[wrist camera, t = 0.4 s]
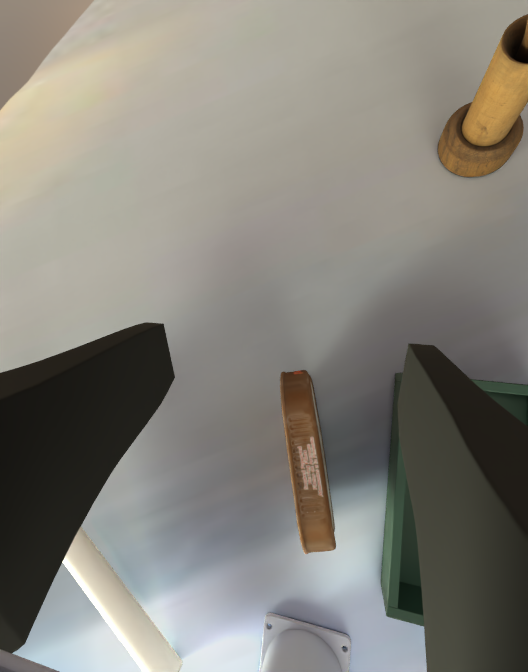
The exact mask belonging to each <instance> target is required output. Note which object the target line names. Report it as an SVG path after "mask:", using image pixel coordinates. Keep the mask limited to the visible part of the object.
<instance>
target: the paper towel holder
mask: <svg viewBox="0 0 528 672" xmlns="http://www.w3.org/2000/svg"><path fill="white" fill-rule="evenodd" d="M63 563H64V564H65V566H66V567H67V569H68V570H69V571H70V573H71V574H72V575H73V577H74V578H75V579H76V581H77V582H78V584H79V585H80V586H81V588H82V589H83V590H84V592H85V593H86V594H87V596H88V597H89V599H90V600H91V601H92V603H93V604H94V605H95V607H96V608H97V609H98V611H99V612H100V614H101V615H102V616H103V618H104V619H105V620H106V622H107V623H108V624H109V626H110V627H111V629H112V630H113V631H114V633H115V634H116V635H117V637H118V638H119V640H120V641H121V642H122V644H123V645H124V646H125V648H126V649H127V650H128V652H129V653H130V655H131V656H132V657H133V659H134V660H135V661H136V663H137V664H138V665H139V667H140V668H141V670H142V671H143V672H179V671H180V669H181V667H182V663H183V662H182V660H181V659H180V657H179V656H178V655H177V653H176V652H175V651H174V649H173V648H172V647H171V645H170V644H169V643H168V641H167V640H166V639H165V637H164V636H163V635H162V633H161V632H160V631H159V629H158V628H157V627H156V625H155V624H154V623H153V621H152V620H151V619H150V617H149V616H148V615H147V613H146V612H145V611H144V609H143V608H142V607H141V605H140V604H139V603H138V601H137V600H136V599H135V598H134V596H133V595H132V594H131V592H130V591H129V590H128V588H127V587H126V586H125V584H124V583H123V582H122V580H121V579H120V578H119V576H118V575H117V574H116V572H115V571H114V570H113V568H112V567H111V566H110V564H109V563H108V562H107V560H106V559H105V558H104V556H103V555H102V554H101V552H100V551H99V550H98V548H97V547H96V546H95V544H94V543H93V542H92V540H91V539H90V538H89V536H88V535H87V534H86V532H85V531H84V530H83V528H82V527H80V529H79V530H78V532H77V534H76V536H75V538H74V540H73V542H72V544H71V546H70V548H69V550H68V552H67V554H66V556H65V558H64V560H63Z"/></svg>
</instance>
